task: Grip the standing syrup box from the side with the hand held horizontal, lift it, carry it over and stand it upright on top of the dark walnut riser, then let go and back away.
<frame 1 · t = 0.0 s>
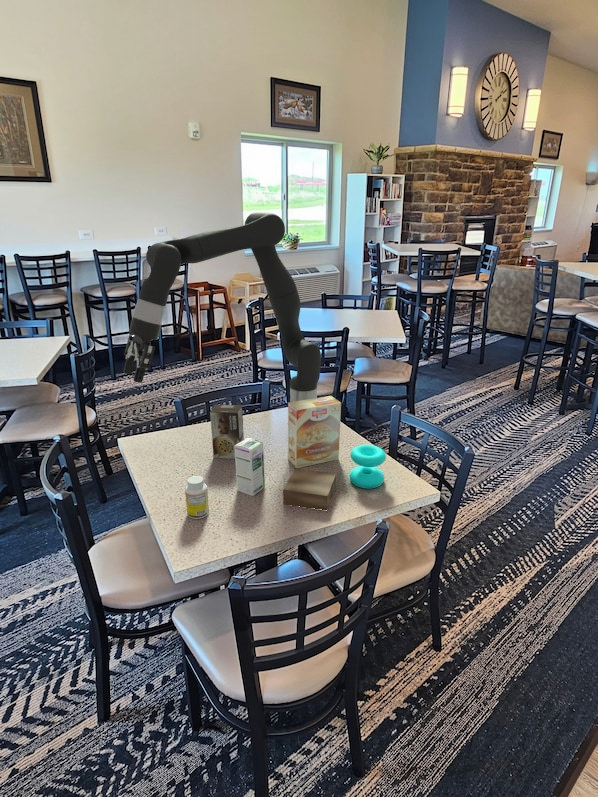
hand: (132, 377, 133), 31 cm above the table, tool tilted 20°, fingers open, 8 cm apart
syrup box: (250, 489, 140), on the table
coffee box: (229, 454, 159), on the table
donuts: (366, 482, 144), on the table
supplement bottle: (198, 514, 128), on the table
walnut riser: (310, 497, 137), on the table
coffeecake box: (313, 459, 157), on the table
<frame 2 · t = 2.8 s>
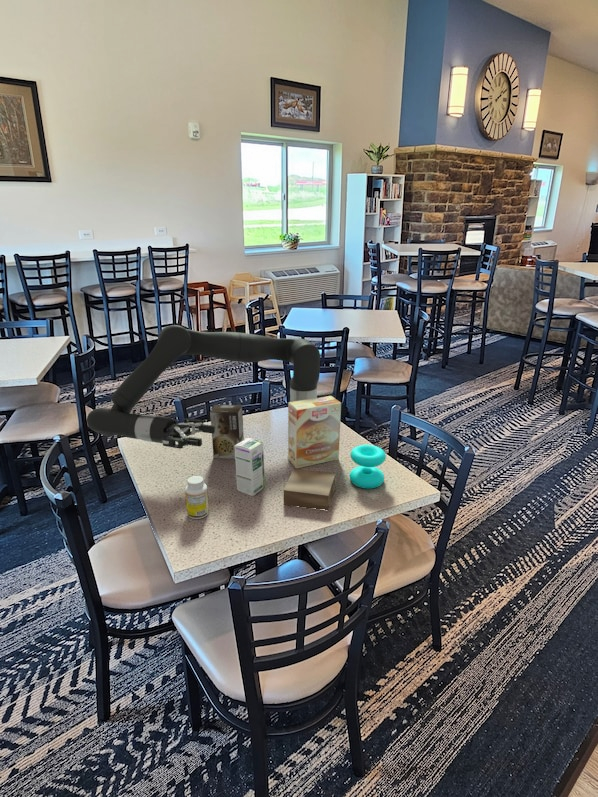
hand: (208, 435, 137), 15 cm above the table, tool horizontal, fingers open, 8 cm apart
nothing on the table moved.
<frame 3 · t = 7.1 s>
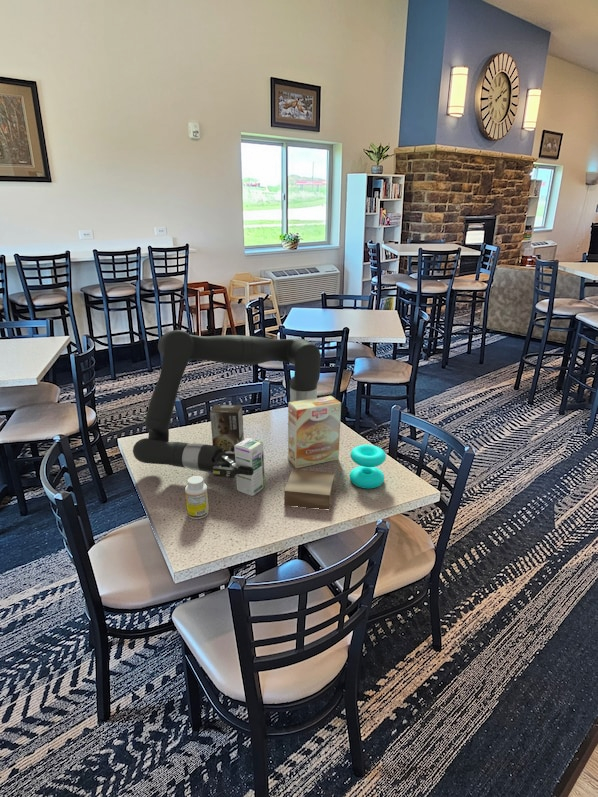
hand: (257, 464, 136), 8 cm above the table, tool horizontal, fingers closed on syrup box, 7 cm apart
syrup box: (250, 489, 140), on the table, touching gripper
everything else where it was.
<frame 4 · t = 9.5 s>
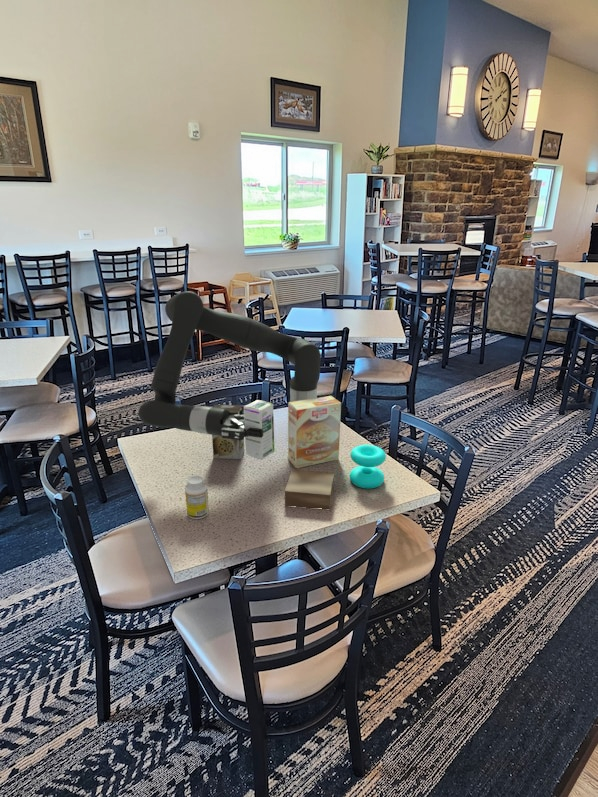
hand: (267, 427, 132), 20 cm above the table, tool horizontal, fingers closed on syrup box, 7 cm apart
syrup box: (260, 454, 135), point 11 cm above the table, touching gripper
everything else where it was.
when the fingers open (14 cm above the table, at t = 12.1 s): syrup box drops 2 cm, point 4 cm above the table.
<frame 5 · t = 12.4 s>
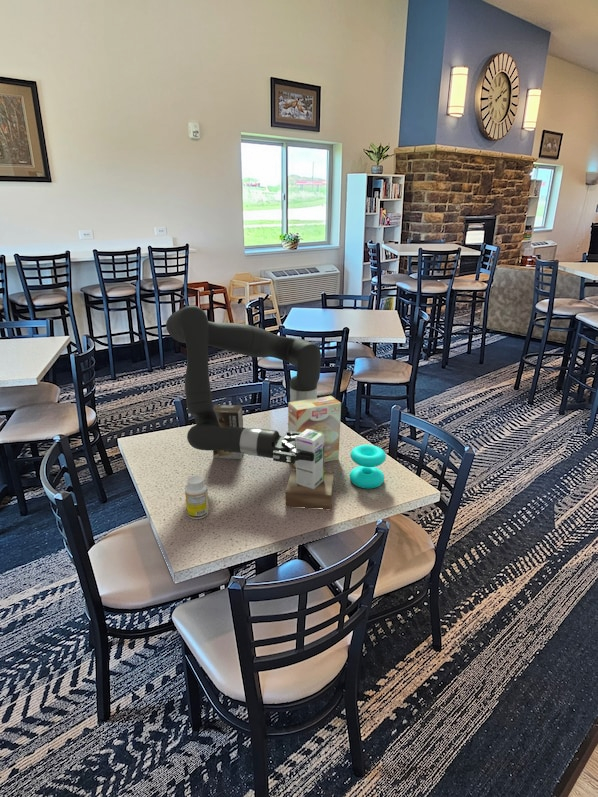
hand: (317, 449, 131), 14 cm above the table, tool horizontal, fingers open, 8 cm apart
syrup box: (309, 482, 135), point 4 cm above the table
everything else where it was.
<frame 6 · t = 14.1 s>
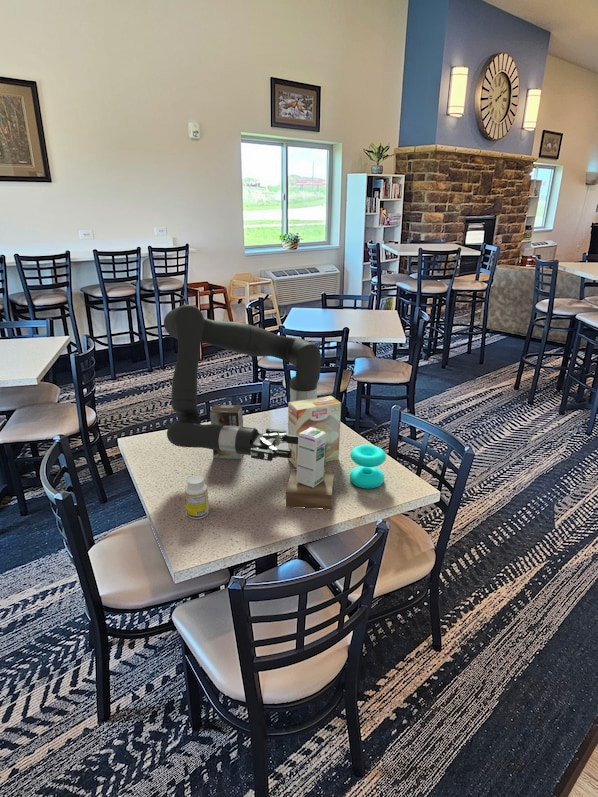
hand: (295, 447, 132), 14 cm above the table, tool horizontal, fingers open, 8 cm apart
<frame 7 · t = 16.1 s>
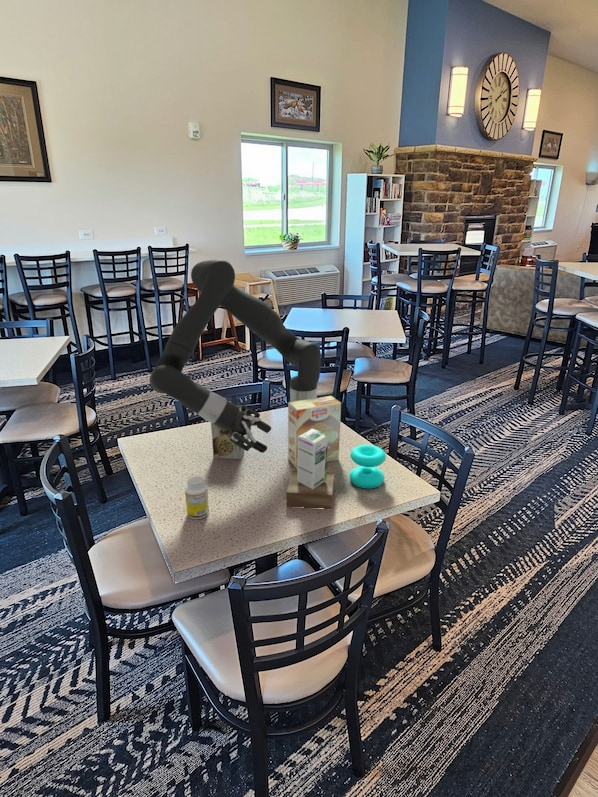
hand: (267, 440, 139), 13 cm above the table, tool tilted 55°, fingers open, 8 cm apart
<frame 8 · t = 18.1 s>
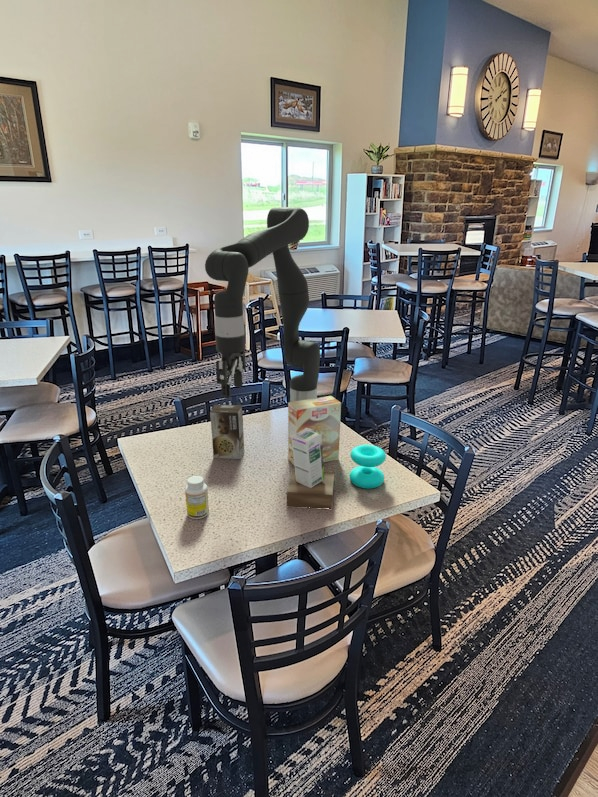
hand: (232, 391, 133), 28 cm above the table, tool pointing down, fingers open, 8 cm apart
syrup box: (310, 481, 135), point 5 cm above the table, touching walnut riser
walnut riser: (311, 497, 137), on the table, touching syrup box
everything else where it was.
at the end: syrup box inside the target area on the walnut riser (0.3 cm from its centre), point 5.0 cm above the walnut riser's base; syrup box tilted 3°; the gripper is holding nothing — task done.
